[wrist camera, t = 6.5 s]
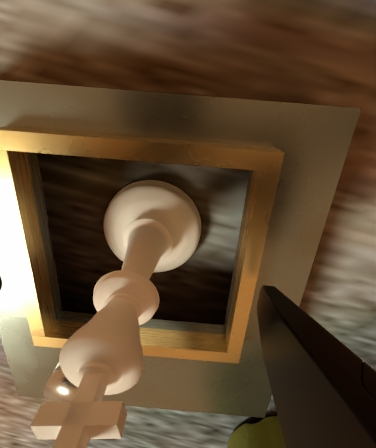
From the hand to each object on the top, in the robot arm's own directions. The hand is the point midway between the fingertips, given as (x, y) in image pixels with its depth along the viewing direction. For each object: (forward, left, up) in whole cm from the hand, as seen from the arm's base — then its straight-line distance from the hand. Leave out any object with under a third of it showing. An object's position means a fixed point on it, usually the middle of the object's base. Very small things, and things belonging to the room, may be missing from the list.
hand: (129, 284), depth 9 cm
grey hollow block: (0, +2, -5) cm, 5 cm away
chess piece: (0, 0, -5) cm, 5 cm away
